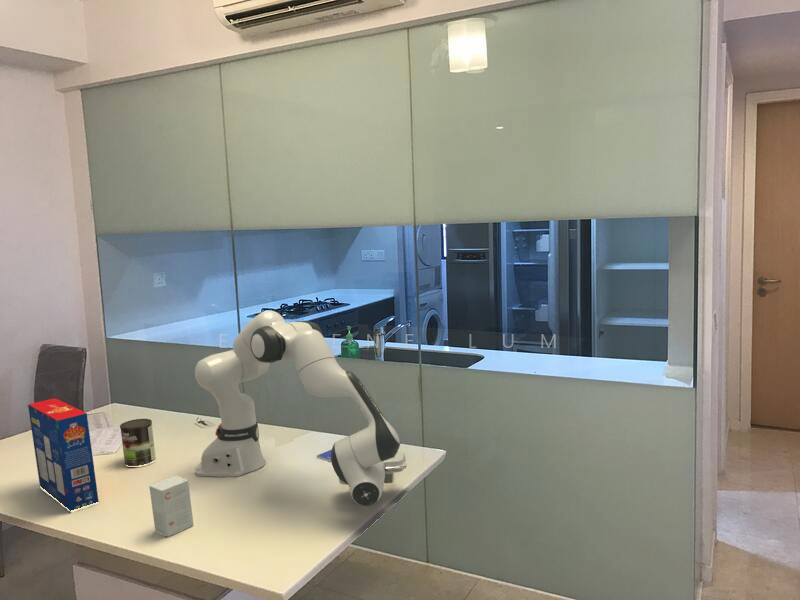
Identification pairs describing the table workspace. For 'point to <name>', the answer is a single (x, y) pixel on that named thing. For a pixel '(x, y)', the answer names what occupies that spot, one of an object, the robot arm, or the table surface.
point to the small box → (171, 505)
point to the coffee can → (138, 442)
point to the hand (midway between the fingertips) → (371, 453)
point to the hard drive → (325, 456)
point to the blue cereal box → (63, 452)
